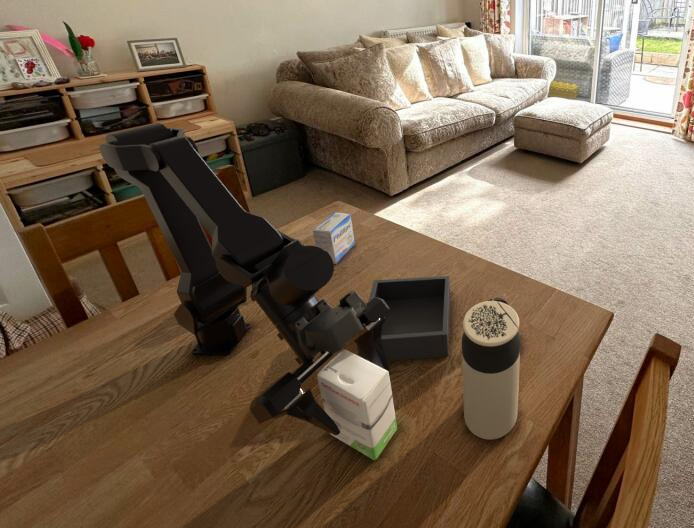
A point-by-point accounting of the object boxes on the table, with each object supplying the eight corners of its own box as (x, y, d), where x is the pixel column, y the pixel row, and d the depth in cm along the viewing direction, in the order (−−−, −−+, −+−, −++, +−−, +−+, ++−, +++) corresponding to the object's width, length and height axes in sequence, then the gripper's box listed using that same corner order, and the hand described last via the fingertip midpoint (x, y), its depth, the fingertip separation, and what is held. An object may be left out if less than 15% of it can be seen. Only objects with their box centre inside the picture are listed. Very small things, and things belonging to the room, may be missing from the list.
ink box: (398, 428, 58) (391, 369, 53) (374, 463, 53) (364, 402, 49) (353, 403, 61) (343, 345, 57) (327, 434, 57) (313, 374, 52)
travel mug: (474, 450, 55) (472, 354, 49) (457, 399, 62) (453, 308, 55) (526, 427, 58) (531, 333, 52) (505, 381, 65) (507, 292, 58)
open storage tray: (359, 363, 67) (356, 341, 65) (376, 300, 81) (374, 280, 79) (448, 356, 69) (447, 334, 67) (450, 295, 82) (449, 275, 81)
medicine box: (335, 265, 90) (330, 232, 87) (318, 262, 91) (311, 229, 88) (355, 244, 97) (350, 213, 94) (338, 242, 98) (333, 211, 95)
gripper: (242, 346, 42) (331, 467, 42) (373, 250, 58) (439, 337, 57) (217, 369, 49) (294, 474, 48) (341, 277, 64) (401, 356, 64)
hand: (365, 403), depth 54 cm, fingers open, 9 cm apart
